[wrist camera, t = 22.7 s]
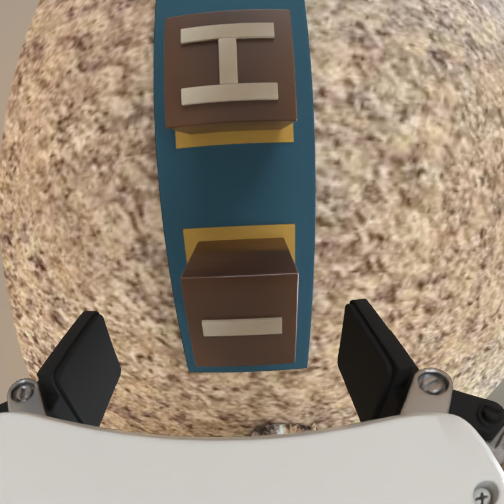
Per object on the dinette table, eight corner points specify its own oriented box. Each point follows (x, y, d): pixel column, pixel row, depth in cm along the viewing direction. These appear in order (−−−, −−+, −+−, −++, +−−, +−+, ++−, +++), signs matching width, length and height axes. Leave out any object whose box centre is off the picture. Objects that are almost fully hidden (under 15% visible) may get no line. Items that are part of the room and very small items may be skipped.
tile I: (206, 315, 17) (194, 369, 12) (197, 241, 15) (178, 279, 11) (284, 311, 17) (295, 366, 12) (284, 237, 15) (299, 274, 11)
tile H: (190, 134, 13) (163, 128, 9) (187, 52, 12) (163, 15, 7) (281, 129, 13) (298, 120, 9) (277, 47, 12) (290, 6, 7)
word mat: (189, 368, 19) (188, 373, 18) (158, -7, 11) (156, -10, 10) (306, 364, 19) (307, 369, 18) (300, -16, 11) (302, -20, 10)
